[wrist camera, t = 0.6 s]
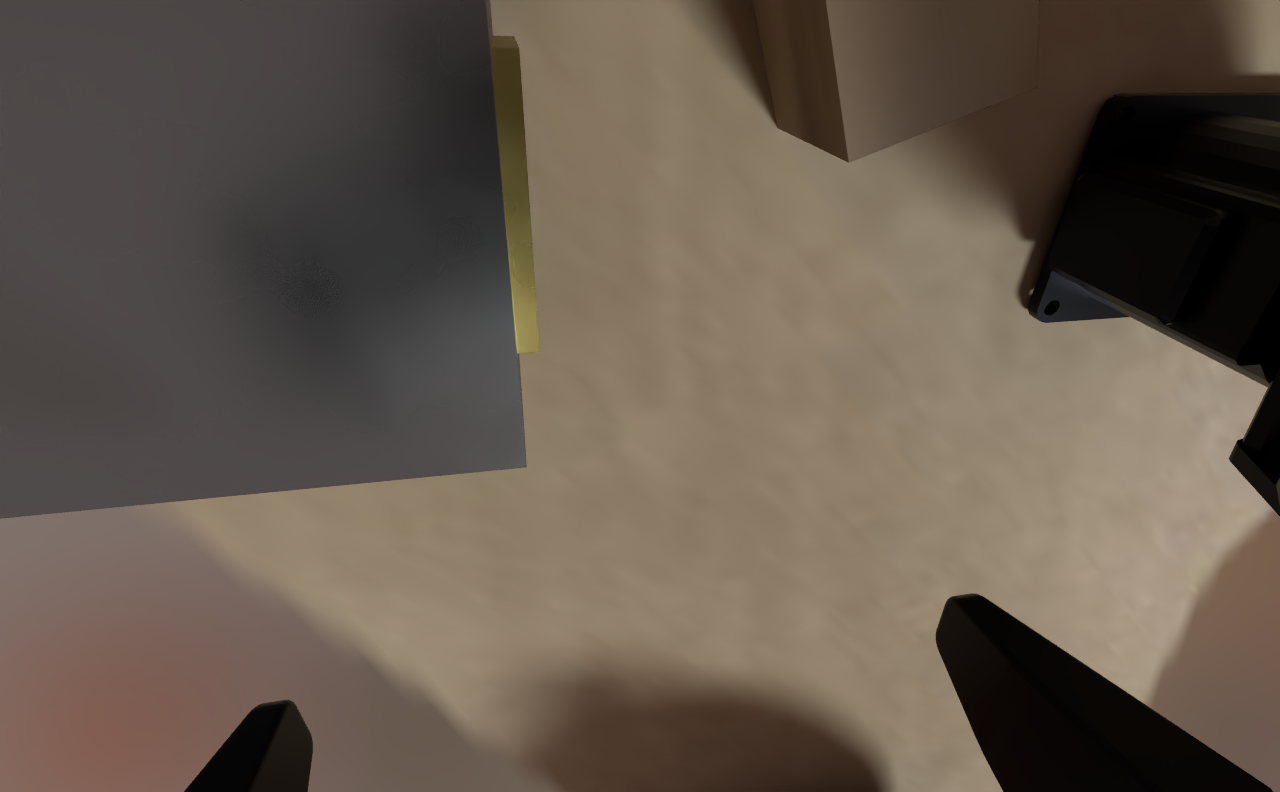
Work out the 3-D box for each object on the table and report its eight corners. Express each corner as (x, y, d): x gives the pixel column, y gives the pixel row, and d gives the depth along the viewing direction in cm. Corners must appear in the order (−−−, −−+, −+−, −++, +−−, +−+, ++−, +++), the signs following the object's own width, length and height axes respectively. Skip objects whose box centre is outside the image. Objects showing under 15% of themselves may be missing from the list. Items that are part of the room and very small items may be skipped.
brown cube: (912, -127, 14) (1043, -164, 11) (925, 67, 16) (1036, 87, 13) (739, -57, 14) (815, -71, 11) (776, 127, 16) (849, 162, 13)
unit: (503, -80, 13) (510, -137, 7) (531, 306, 17) (549, 465, 12) (-106, -106, 11) (-749, -208, 5) (96, 331, 16) (-140, 532, 10)
